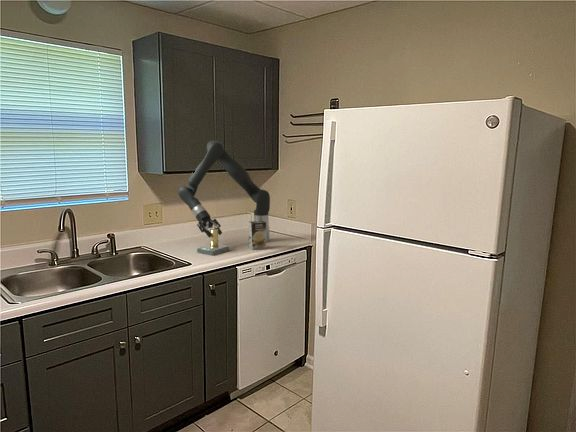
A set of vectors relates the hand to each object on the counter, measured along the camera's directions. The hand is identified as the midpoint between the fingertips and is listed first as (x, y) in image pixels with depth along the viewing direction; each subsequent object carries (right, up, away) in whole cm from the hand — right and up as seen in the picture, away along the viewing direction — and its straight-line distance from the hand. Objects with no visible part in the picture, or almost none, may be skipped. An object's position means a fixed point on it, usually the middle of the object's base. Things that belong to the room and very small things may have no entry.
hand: (215, 235), depth 252 cm
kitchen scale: (-2, -10, +1) cm, 10 cm away
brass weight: (-1, -6, +2) cm, 7 cm away
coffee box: (+23, -8, +10) cm, 27 cm away
